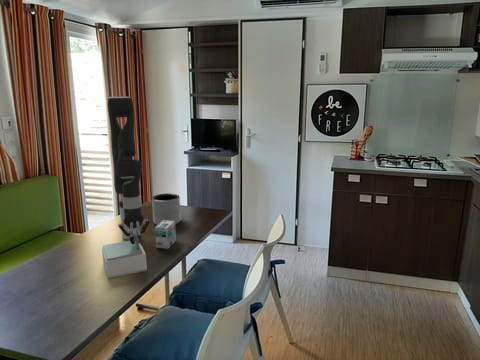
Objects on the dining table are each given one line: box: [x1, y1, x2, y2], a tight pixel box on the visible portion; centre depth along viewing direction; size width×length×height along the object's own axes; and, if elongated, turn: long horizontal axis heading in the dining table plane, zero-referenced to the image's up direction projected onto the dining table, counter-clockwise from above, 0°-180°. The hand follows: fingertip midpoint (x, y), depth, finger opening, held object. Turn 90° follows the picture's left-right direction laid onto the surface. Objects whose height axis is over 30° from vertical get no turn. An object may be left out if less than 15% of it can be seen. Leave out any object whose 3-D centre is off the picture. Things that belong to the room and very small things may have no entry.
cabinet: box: [101, 242, 148, 280], centre depth 159 cm, size 16×16×8 cm
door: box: [102, 230, 142, 260], centre depth 157 cm, size 15×14×6 cm
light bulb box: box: [154, 220, 177, 249], centre depth 182 cm, size 11×7×11 cm, turn 168°
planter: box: [151, 192, 182, 226], centre depth 213 cm, size 16×16×16 cm
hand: (135, 243), depth 160 cm, fingers closed on door, 2 cm apart
